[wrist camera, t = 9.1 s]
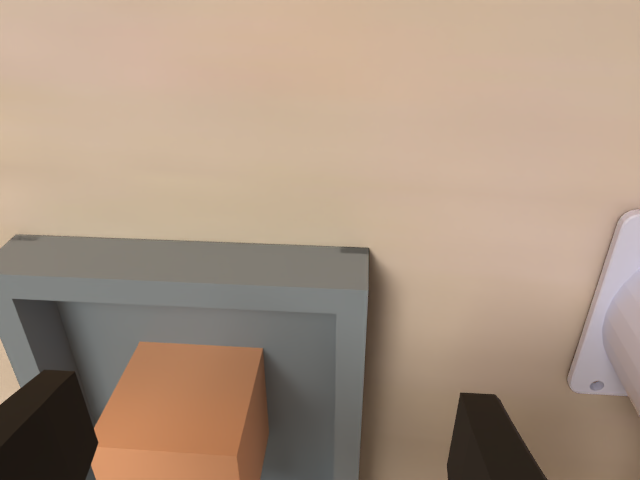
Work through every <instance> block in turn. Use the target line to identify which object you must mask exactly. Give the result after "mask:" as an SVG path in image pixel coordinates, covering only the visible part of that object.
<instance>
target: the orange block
mask: <svg viewBox="0 0 640 480" xmlns="http://www.w3.org/2000/svg"><path fill="white" fill-rule="evenodd" d="M94 430H95V434H96V437H97V440H98V446H97V449H96V452H95V455H94V457H93V460H92V463H91V467H92V470H93V472H94V475H95V478H96V480H260V478H261V472H262V467H263V462H264V457H265V452H266V446H267V441H268V436H269V424H268V410H267V397H266V383H265V370H264V357H263V348H252V347H233V346H215V345H196V344H177V343H159V342H139V344H138V346H137V348H136V350H135V352H134V353H133V355H132V357H131V359H130V361H129V363H128V365H127V367H126V369H125V370H124V372H123V374H122V376H121V378H120V380H119V382H118V384H117V386H116V387H115V389H114V391H113V393H112V395H111V397H110V399H109V401H108V403H107V404H106V406H105V408H104V410H103V412H102V414H101V416H100V418H99V420H98V421H97V423H96V425H95V427H94Z"/></svg>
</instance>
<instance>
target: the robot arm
mask: <svg viewBox="0 0 640 480" xmlns="http://www.w3.org/2000/svg"><path fill="white" fill-rule="evenodd" d="M595 381H598V382H596V383H593V382H595ZM567 382H568V384H569V387H570V388H571V390H572V391H574V392H576V393H582V394H600V395H618V396H629V398H630V400H631V402H632V404H633V406H634V408H635V410H636V412H637V413H638V415H639V417H640V209H637V210H631V211H629V212H626V213H625V214H624V215H622V216H621V217H620V219H619V221H618V223H617V226H616V229H615V232H614V235H613V238H612V241H611V244H610V247H609V251H608V254H607V257H606V260H605V263H604V266H603V269H602V272H601V275H600V278H599V282H598V285H597V288H596V291H595V294H594V297H593V300H592V303H591V306H590V309H589V313H588V316H587V319H586V322H585V325H584V328H583V331H582V334H581V337H580V340H579V344H578V347H577V350H576V353H575V356H574V359H573V362H572V365H571V368H570V371H569V375H568V378H567ZM97 446H98V440H97V437H96V434H95V430H94V427H93V424H92V421H91V418H90V415H89V412H88V409H87V406H86V403H85V400H84V397H83V394H82V391H81V388H80V385H79V382H78V379H77V376H76V373H75V371H61V370H43V371H42V372H41V373H39V374H38V375H37V376H35V377H34V378H33V379H32V380H30V381H29V382H28V383H26V384H25V385H24V386H23V387H22V388H20V389H19V390H18V391H17V392H15V393H14V394H13V395H12V396H10V397H9V398H8V399H7V400H6V401H4V402H3V403H2V404H1V405H0V480H86V477H87V475H88V472H89V469H90V466H91V463H92V460H93V457H94V455H95V452H96V449H97ZM447 471H448V480H547V478H546V477H545V475H544V474H543V472H542V471H541V469H540V467H539V466H538V464H537V463H536V461H535V459H534V458H533V456H532V454H531V453H530V451H529V450H528V448H527V446H526V445H525V443H524V441H523V440H522V438H521V436H520V435H519V433H518V431H517V429H516V428H515V426H514V424H513V422H512V421H511V419H510V417H509V415H508V414H507V412H506V410H505V408H504V406H503V404H502V403H501V401H500V399H499V398H498V397H497V396H496V395H494V394H476V393H460V398H459V403H458V408H457V414H456V419H455V425H454V430H453V436H452V441H451V446H450V452H449V457H448V463H447Z"/></svg>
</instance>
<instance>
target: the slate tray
mask: <svg viewBox="0 0 640 480" xmlns="http://www.w3.org/2000/svg"><path fill="white" fill-rule="evenodd" d="M368 275H369V248H356V247H330V246H304V245H277V244H251V243H225V242H198V241H172V240H146V239H119V238H93V237H66V236H40V235H15V236H14V237H13V238H12V239H10V240H9V241H8V242H7V243H6V244H5V245H4V246H3V247H2V248H1V249H0V338H1V341H2V343H3V346H4V348H5V351H6V353H7V356H8V358H9V360H10V363H11V365H12V368H13V370H14V373H15V375H16V378H17V380H18V382H19V385H20V387H21V388H22V387H23V386H24V385H25V384H26V383H28V382H29V381H30V380H32V379H33V378H34V377H35V376H37V375H38V374H39V373H41V372H42V371H43V370H61V371H75V373H76V376H77V379H78V382H79V385H80V388H81V391H82V394H83V397H84V400H85V403H86V406H87V409H88V412H89V415H90V418H91V421H92V424H93V427H95V425H96V423H97V421H98V420H99V418H100V416H101V414H102V412H103V410H104V408H105V406H106V404H107V403H108V401H109V399H110V397H111V395H112V393H113V391H114V389H115V387H116V386H117V384H118V382H119V380H120V378H121V376H122V374H123V372H124V370H125V369H126V367H127V365H128V363H129V361H130V359H131V357H132V355H133V353H134V352H135V350H136V348H137V346H138V344H139V342H159V343H177V344H196V345H215V346H233V347H252V348H263V357H264V370H265V383H266V397H267V410H268V424H269V436H268V441H267V446H266V452H265V457H264V462H263V467H262V472H261V478H260V480H359V461H360V442H361V423H362V404H363V385H364V366H365V347H366V327H367V308H368ZM86 480H96V478H95V475H94V472H93V470H92V467H91V466H90V469H89V472H88V475H87V477H86Z"/></svg>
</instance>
